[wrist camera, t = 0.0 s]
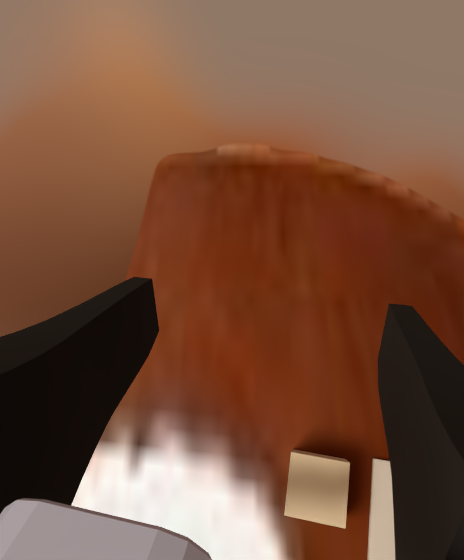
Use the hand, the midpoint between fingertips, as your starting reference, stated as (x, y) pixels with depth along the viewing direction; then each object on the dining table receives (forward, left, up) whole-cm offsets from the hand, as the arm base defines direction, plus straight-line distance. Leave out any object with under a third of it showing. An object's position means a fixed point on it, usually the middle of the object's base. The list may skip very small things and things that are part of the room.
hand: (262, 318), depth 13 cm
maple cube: (-8, -3, -32) cm, 33 cm away
